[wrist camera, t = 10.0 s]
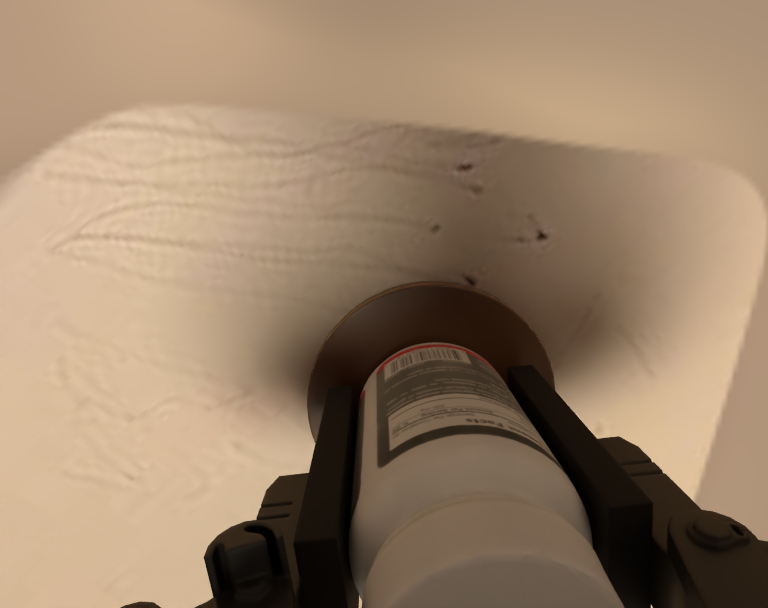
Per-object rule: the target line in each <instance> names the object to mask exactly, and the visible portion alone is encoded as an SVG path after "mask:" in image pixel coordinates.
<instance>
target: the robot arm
mask: <svg viewBox="0 0 768 608" xmlns="http://www.w3.org/2000/svg"><path fill="white" fill-rule="evenodd" d="M507 371H508V388H509V390H510V392H511V393H512V394H513V396H514V398H515V399H516V400H517V402H518V404H519V405H520V407H521V408H522V410H523V411H524V413H525V414H526V416H527V417H528V418H529V420H530V421H531V423H532V424H533V426H534V427H535V429H536V430H537V432H538V433H539V435H540V436H541V438H542V439H543V440H544V442H545V443H546V445H547V446H548V448H549V449H550V451H551V452H552V454H553V455H554V457H555V458H556V460H557V461H558V463H559V464H560V465H561V467H562V468H563V470H564V471H565V473H566V474H567V475H568V477H569V479H570V481H571V482H572V484H573V486H574V487H575V489H576V491H577V493H578V494H579V497H580V498H581V500H582V502H583V505H584V507H585V510H586V512H587V515H588V519H589V522H590V527H591V532H592V543H593V550H594V551H595V553H596V555H597V557H598V559H599V561H600V563H601V565H602V567H603V570H604V571H605V573H606V575H607V577H608V579H609V581H610V582H611V584H612V586H613V588H614V590H615V591H616V593H617V595H618V597H619V598H620V600H621V602H622V604H623V606H624V608H651V605H652V606H653V608H768V542H766V541H761V540H758V539H757V538H756V536H755V535H754V534H752V533H751V532H750V531H749V530H748V529H747V528H746V527H745V526H744V525H742V524H740V523H739V522H737V521H735V520H733V519H732V518H730V517H727V516H724V515H722V514H719V513H716V512H712V511H706V510H701V509H700V508H699V507H698V506H697V505H696V504H695V503H694V502H693V501H692V500H691V499H690V498H689V497H688V496H687V495H686V494H685V493H684V492H683V491H682V490H681V489H680V488H679V487H678V486H677V485H676V484H675V483H674V482H673V481H672V480H671V479H670V478H669V477H668V476H667V475H666V474H663V472H662V470H661V469H660V468H659V467H658V466H657V465H656V464H655V463H654V462H653V463H652V461H651V459H650V458H649V457H648V456H647V455H646V454H645V453H644V452H643V451H642V450H641V449H640V448H639V447H638V446H636V445H634V444H632V443H630V442H628V441H626V440H624V439H622V438H621V437H619V436H618V437H610V438H601V439H597V438H596V437H595V436H594V435H593V434H592V433H591V431H590V430H589V429H588V428H587V427H586V426H585V425H584V423H583V422H582V421H581V420H580V419H579V418H578V417H577V415H576V414H575V413H574V412H573V411H572V410H571V409H570V407H569V406H568V405H567V404H566V403H565V402H564V401H563V399H562V398H561V397H560V396H559V395H558V394H557V393H556V391H555V390H554V389H553V388H552V387H551V386H550V385H549V383H548V382H547V381H546V380H545V379H544V378H543V377H542V375H541V374H540V373H539V372H538V371H537V370H536V369H535V367H534V366H533V365H524V366H515V367H507ZM356 425H357V411H356V403H355V396H354V389H353V385H349V386H341V387H332V388H328V392H327V396H326V401H325V405H324V409H323V414H322V418H321V423H320V427H319V431H318V436H317V440H316V444H315V449H314V453H313V458H312V462H311V466H310V471H309V473H304V474H295V475H286V476H279V477H278V478H277V479H276V480H275V482H274V483H273V484H272V485H271V486H270V487H269V488H268V489H267V490H266V493H265V496H264V499H263V501H262V504H261V508H260V510H259V513H258V516H257V520H253V521H246V522H243V523H240V524H237V525H235V526H232V527H230V528H229V529H227V530H225V531H224V532H222V533H221V534H219V535H218V536H217V537H216V538H215V539H214V540H213V541H212V543H211V544H210V545H209V546H208V548H207V551H206V553H205V556H204V560H205V564H206V568H207V572H208V576H209V580H210V584H211V589H212V593H213V597H214V598H212V599H211V600H209V601H208V602H206V603H203V604H201V605H199V606H197V607H195V608H358V607H359V593H358V591H357V588H356V586H355V583H354V580H353V577H352V573H351V568H350V563H349V551H348V536H349V520H350V508H351V494H352V481H353V467H354V455H355V440H356ZM121 608H161V607H159V606H158V605H156V604H155V603H153V602H137V603H133V604H129V605H125V606H123V607H121Z"/></svg>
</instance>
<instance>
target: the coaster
mask: <svg viewBox="0 0 768 608" xmlns="http://www.w3.org/2000/svg"><path fill="white" fill-rule="evenodd" d="M434 342H435V343H449V344H454V345H458V346H461V347H464V348H466V349H469V350H471V351H473V352H474V353H476V354H478V355H479V356H481V357H482V358H483V359H485V360H486V361H487V362H488V363H489V364H490V365H491V366H492V367H493V368H494V369H495V370H496V372H497V373H498V374H499V375H500V376H501V378H502V379H503V381H504V382H505V384H506V385H507V387H508V371H507V367H515V366H524V365H533V366H534V367H535V369H536V370H537V371H538V372H539V373H540V374H541V375H542V377H543V378H544V379H545V380H546V381H547V382H548V383H549V385H550V386H551V387H552V388H553V389H554V390H555V384H554V376H553V372H552V368H551V364H550V361H549V359H548V356H547V354H546V351H545V349H544V347H543V345H542V344H541V342H540V340H539V339H538V337H537V335H536V334H535V333H534V331H533V330H532V329H531V328H530V326H529V325H528V324H527V323H526V322H525V321H524V320H523V319H522V318H521V317H520V316H519V315H518V314H517V313H515V312H514V311H513V310H512V309H511V308H510V307H508V306H507V305H505V304H504V303H502V302H501V301H500V300H498V299H496V298H494V297H492V296H490V295H488V294H486V293H485V292H482V291H479V290H476V289H473V288H471V287H467V286H463V285H458V284H453V283H442V282H426V283H415V284H410V285H404V286H400V287H397V288H394V289H391V290H387V291H385V292H383V293H380V294H378V295H376V296H374V297H372V298H370V299H368V300H367V301H365V302H364V303H362V304H361V305H359V306H357V307H356V308H355V309H354V310H352V311H351V312H350V313H349V314H348V315H346V316H345V317H344V318H343V319H342V320H341V321H340V323H339V324H338V325H337V326H336V327H335V328H334V329H333V330H332V332H331V333H330V335H329V336H328V338H327V339H326V340H325V342H324V344H323V346H322V348H321V350H320V352H319V354H318V356H317V358H316V361H315V364H314V367H313V370H312V373H311V376H310V382H309V387H308V398H307V409H308V419H309V424H310V428H311V432H312V436H313V438H314V441H315V443H316V440H317V436H318V431H319V427H320V423H321V418H322V414H323V409H324V405H325V401H326V396H327V392H328V388H332V387H341V386H349V385H353V389H354V396H355V403H356V411H358V405H359V400H360V396H361V393H362V391H363V388H364V386H365V384H366V382H367V380H368V379H369V377H370V376H371V374H372V373H373V372H374V371H375V370H376V369H377V367H378V366H379V365H381V364H382V363H383V362H384V361H385V360H386V359H388V358H389V357H390V356H392V355H393V354H395V353H397V352H399V351H400V350H403V349H405V348H408V347H410V346H413V345H417V344H423V343H434Z"/></svg>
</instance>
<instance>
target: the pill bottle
mask: <svg viewBox="0 0 768 608" xmlns="http://www.w3.org/2000/svg"><path fill="white" fill-rule="evenodd" d="M348 551H349V563H350V568H351V573H352V577H353V580H354V583H355V586H356V588H357V591H358V593H359V595H360V597H361V599H362V608H624V606H623V604H622V602H621V600H620V598H619V597H618V595H617V593H616V591H615V590H614V588H613V586H612V584H611V582H610V581H609V579H608V577H607V575H606V573H605V571H604V570H603V567H602V565H601V563H600V561H599V559H598V557H597V555H596V553H595V551H594V550H593V543H592V532H591V527H590V522H589V519H588V515H587V512H586V510H585V507H584V505H583V502H582V500H581V498H580V497H579V494H578V493H577V491H576V489H575V487H574V486H573V484H572V482H571V481H570V479H569V477H568V475H567V474H566V473H565V471H564V470H563V468H562V467H561V465H560V464H559V463H558V461H557V460H556V458H555V457H554V455H553V454H552V452H551V451H550V449H549V448H548V446H547V445H546V443H545V442H544V440H543V439H542V438H541V436H540V435H539V433H538V432H537V430H536V429H535V427H534V426H533V424H532V423H531V421H530V420H529V418H528V417H527V416H526V414H525V413H524V411H523V410H522V408H521V407H520V405H519V404H518V402H517V400H516V399H515V398H514V396H513V394H512V393H511V392H510V390H509V388H508V387H507V385H506V384H505V382H504V381H503V379H502V378H501V376H500V375H499V374H498V373H497V372H496V370H495V369H494V368H493V367H492V366H491V365H490V364H489V363H488V362H487V361H486V360H485V359H483V358H482V357H481V356H479V355H478V354H476V353H474V352H473V351H471V350H469V349H466V348H464V347H461V346H458V345H454V344H449V343H435V342H434V343H423V344H417V345H413V346H410V347H408V348H405V349H403V350H400V351H399V352H397V353H395V354H393V355H392V356H390V357H389V358H388V359H386V360H385V361H384V362H383V363H382V364H381V365H379V366H378V367H377V369H376V370H375V371H374V372H373V373H372V374H371V376H370V377H369V379H368V380H367V382H366V384H365V386H364V388H363V391H362V393H361V396H360V400H359V405H358V411H357V425H356V440H355V455H354V467H353V481H352V494H351V508H350V520H349V536H348Z"/></svg>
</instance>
